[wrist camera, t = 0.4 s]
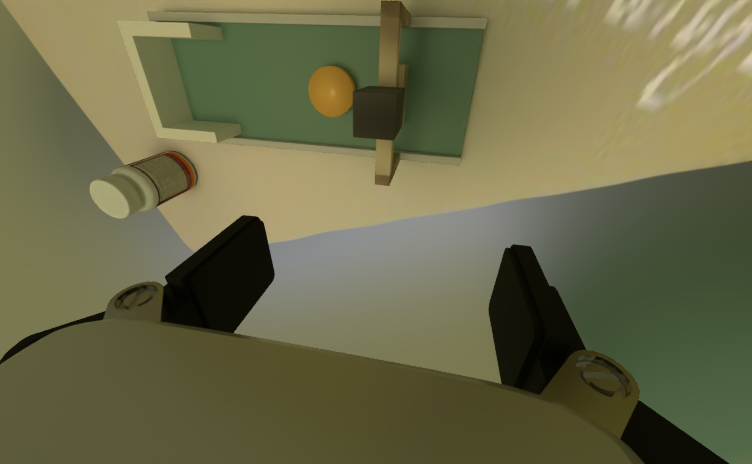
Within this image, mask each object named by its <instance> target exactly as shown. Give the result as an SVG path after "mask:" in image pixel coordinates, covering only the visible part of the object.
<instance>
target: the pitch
mask: <svg viewBox="0 0 752 464" xmlns="http://www.w3.org/2000/svg"><path fill="white" fill-rule="evenodd" d="M147 14H148V17H149V20H150V21H157V22H138V21H117V22H118V25H119V28H120V31H121V34H122V37H123V40H124V42H125V45H126V48H127V51H128V54H129V57H130V60H131V63H132V66H133V68H134V71H135V74H136V77H137V80H138V83H139V86H140V89H141V91H142V94H143V97H144V100H145V103H146V106H147V109H148V112H149V115H150V117H151V120H152V123H153V126H154V129H155V132H156V135H157V137H158V138H169V139H180V140H191V141H201V142H212V143H226V144H237V145H247V146H258V147H269V148H280V149H291V150H301V151H312V152H323V153H334V154H344V155H355V156H366V157H376V139H368V138H356V137H353V107H352V108H351V109H350V110H349V111H348V112H346V113H344V114H342V115H340V116H338V117H328V116H325V115H323V114H321V113H320V112H318V111H317V110H316V109H315V107H314V106H313V105H312V103H311V100H310V97H309V92H308V86H309V81H310V78H311V76H312V75H313V73H314V72H315V71H316V70H318V69H319V68H321V67H325V66H339V67H342V68H344V69H346V70H347V71H348V72H349V73H350V74H351V75H352V77H353V78H354V80H355V83H356V86H357V90H359V89H361V88H364V87H367V86H378V78H379V49H380V20H381V16H359V15H308V14H257V13H206V12H155V11H154V12H152V11H147ZM487 19H488V18H461V17H411V19H410V28H401V40H400V55H399V64H409V68H408V80H407V93H406V105H405V118H404V125H403V127H402V129H401V131H400V132H399V134H398V136H397V138H396V139H395V140H394V148H393V152H396V153H400V160H409V161H420V162H431V163H441V164H452V165H460V162H461V152H462V146H463V141H464V136H465V130H466V125H467V120H468V114H469V109H470V104H471V98H472V93H473V87H474V82H475V77H476V71H477V66H478V61H479V55H480V50H481V45H482V39H483V34H484V29H486V24H487Z"/></svg>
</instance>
